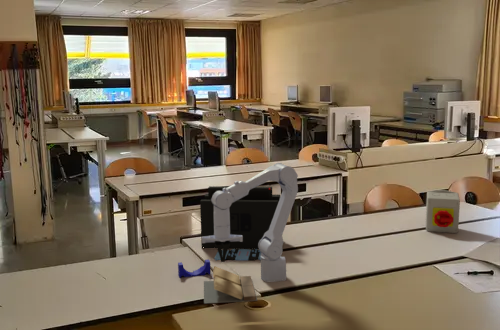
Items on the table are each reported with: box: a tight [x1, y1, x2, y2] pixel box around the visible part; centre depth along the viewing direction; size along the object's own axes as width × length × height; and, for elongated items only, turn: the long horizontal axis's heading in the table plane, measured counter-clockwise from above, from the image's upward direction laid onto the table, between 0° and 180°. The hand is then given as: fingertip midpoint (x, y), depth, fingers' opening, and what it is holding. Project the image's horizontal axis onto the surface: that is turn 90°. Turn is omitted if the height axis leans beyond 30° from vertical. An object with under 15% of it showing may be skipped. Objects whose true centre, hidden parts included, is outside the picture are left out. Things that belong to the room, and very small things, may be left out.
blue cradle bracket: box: [177, 258, 211, 279], centre depth 206 cm, size 12×4×6 cm, turn 106°
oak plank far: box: [212, 266, 241, 286], centre depth 194 cm, size 10×8×1 cm
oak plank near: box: [213, 276, 243, 299], centre depth 183 cm, size 10×8×1 cm
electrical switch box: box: [425, 189, 461, 234], centre depth 258 cm, size 15×15×20 cm
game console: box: [199, 185, 281, 262], centre depth 235 cm, size 35×30×27 cm
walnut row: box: [239, 275, 257, 302], centre depth 190 cm, size 4×19×1 cm, turn 5°
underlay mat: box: [203, 280, 258, 304], centre depth 189 cm, size 18×20×1 cm
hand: (222, 261), depth 193 cm, fingers closed
